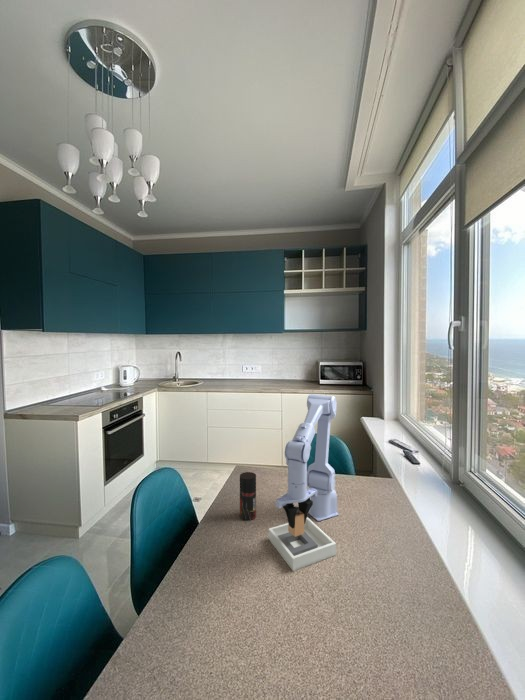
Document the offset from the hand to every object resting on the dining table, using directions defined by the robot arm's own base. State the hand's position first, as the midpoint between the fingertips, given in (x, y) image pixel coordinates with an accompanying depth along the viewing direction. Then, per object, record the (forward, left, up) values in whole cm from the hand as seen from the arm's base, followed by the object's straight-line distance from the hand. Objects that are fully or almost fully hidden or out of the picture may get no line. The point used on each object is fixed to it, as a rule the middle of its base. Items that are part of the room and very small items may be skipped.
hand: (297, 524), depth 92 cm
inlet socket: (0, 0, -8) cm, 8 cm away
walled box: (-2, 0, -8) cm, 8 cm away
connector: (0, 0, -3) cm, 3 cm away
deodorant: (+7, -23, -8) cm, 25 cm away
